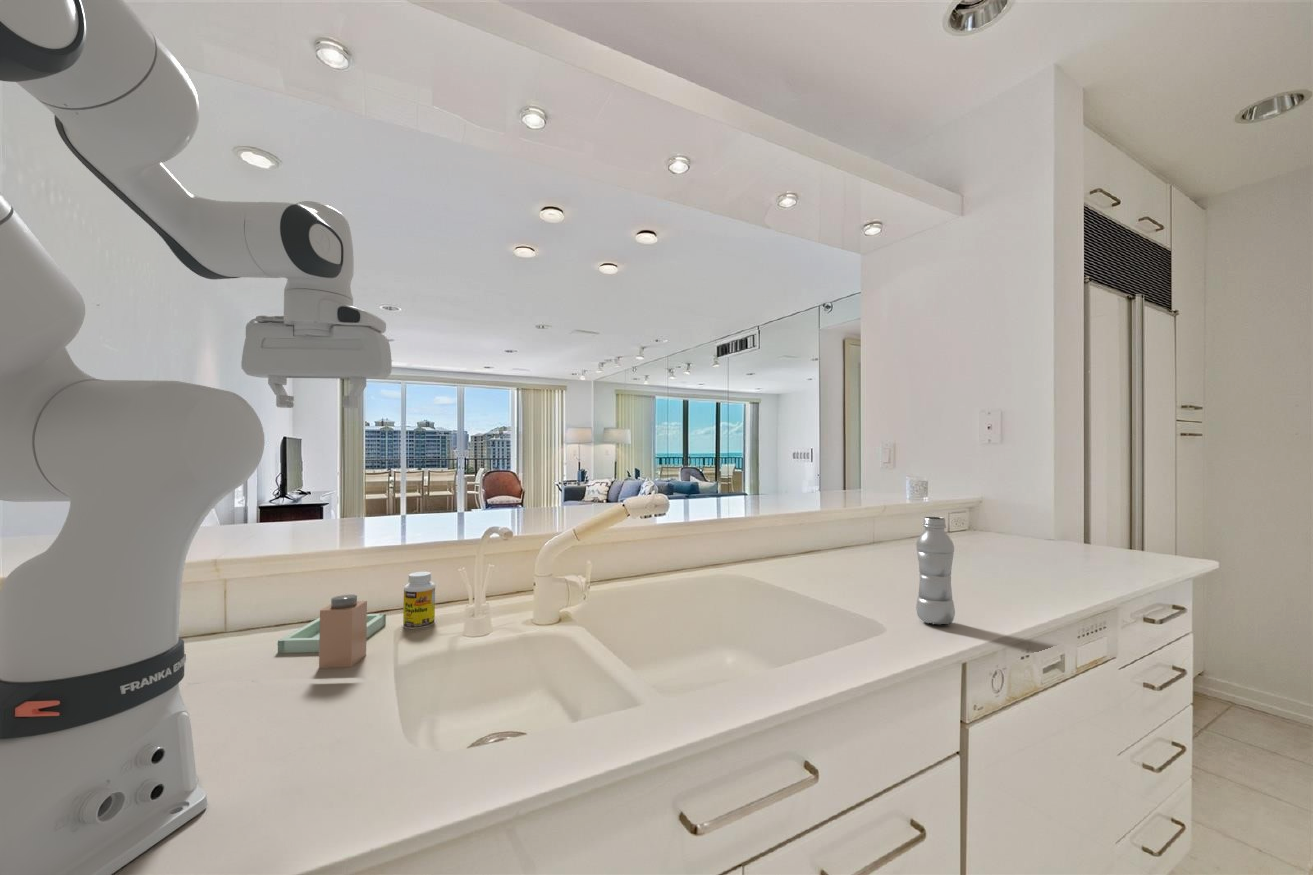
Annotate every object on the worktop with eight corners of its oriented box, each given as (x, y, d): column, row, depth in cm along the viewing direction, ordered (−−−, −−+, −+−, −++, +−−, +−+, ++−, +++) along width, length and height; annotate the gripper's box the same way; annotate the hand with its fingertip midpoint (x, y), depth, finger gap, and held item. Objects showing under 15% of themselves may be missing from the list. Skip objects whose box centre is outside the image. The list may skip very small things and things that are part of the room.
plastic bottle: (908, 621, 101) (907, 516, 101) (932, 616, 104) (931, 515, 104) (938, 631, 95) (937, 520, 96) (963, 626, 98) (962, 519, 98)
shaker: (351, 670, 78) (352, 601, 78) (318, 671, 77) (320, 602, 78) (366, 658, 82) (367, 593, 83) (335, 659, 82) (336, 593, 82)
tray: (349, 654, 84) (350, 639, 84) (277, 656, 83) (277, 640, 83) (385, 627, 97) (385, 613, 97) (323, 628, 96) (323, 615, 96)
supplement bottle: (398, 632, 94) (399, 577, 94) (408, 622, 99) (409, 570, 100) (429, 631, 95) (430, 576, 95) (438, 621, 100) (438, 570, 100)
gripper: (231, 309, 75) (229, 405, 75) (378, 312, 77) (377, 406, 77) (261, 320, 82) (259, 408, 81) (396, 323, 83) (395, 409, 83)
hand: (317, 407), depth 79 cm, fingers open, 8 cm apart
